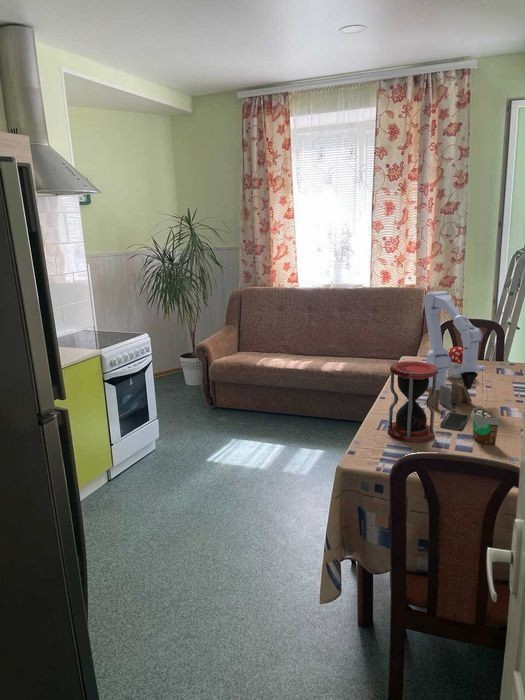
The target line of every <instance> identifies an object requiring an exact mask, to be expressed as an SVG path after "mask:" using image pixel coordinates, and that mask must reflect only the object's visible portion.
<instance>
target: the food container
mask: <svg viewBox="0 0 525 700" xmlns="http://www.w3.org/2000/svg"><path fill="white" fill-rule="evenodd" d="M470 417H471V419H472V438H473V440H474V442H476V443H479V444H482V445H487V446H489V445H490V446H495V445H496V440H497V435H498V429H499V426H500V418H498V417H496V418H495V417H494V416H493V415H492V414H491V413H489V412H487V411H485V410H484V409H483V406H479V407H474V408H473V410H472V411H471V413H470Z"/></svg>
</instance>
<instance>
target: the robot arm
mask: <svg viewBox="0 0 525 700" xmlns="http://www.w3.org/2000/svg"><path fill="white" fill-rule="evenodd" d="M452 298H453V296H452V295H451V294H450V293H449V291H447V290H443V291H432V292H431V291H430V292H429V291H428V292H427V293H426V294H425V295H424V297H423V299H422V300H423V306H424V314H425V318H426V326H427V332H428V340H429V346H430V350H429V351H428V352H427V353H426V354H425V355H426V360H425V363H429V364H432V365H434V366H436V367H437V368H438V374H437V377H436V388H437V389H439V393H440V385H446V386H447V375H448V374H447V371H448V369H449V367H450V366H451V358H450V356H449V352H448V349H445V348H444V342H443V337H442V335H443V334H442V330H441V328H442V327H441V323H440V316H439V313H440V312H441V311H442V310H444V311H445V312H446V313H447V315H448V316H449V317H451V319H452V320H453V322H452V325H453V326H454V327H455V328H456V330H457V331H458V333H460V339H461V342H462V348H463V360H462V367H459V368H456V369H453V374H455V375H457V374H460V375H461V376H462V378H461V379H462V381H463V385H465V386H466V387H467V390H468V391H469V390H471V388H472V387H473V384H474V381H475V380H476V379H477V377H478V375H479V374H478V372H485V371H486V366H485V365H481V364H480V365H478V360H479V359H478V358H479V357H478V356H479V345H480V342H482V340H483V337H484V335H483V332H482V330H481V328H479V327H476V326H474V324H472V323H471V322H470V320H469V318H468V316H466V315H464V314H461V313H460V311H459V310H458V309H457V307H456V306H455V304H454V303H453V301H452V300H453V299H452ZM432 385H433V377H429V385H428V388H427V391H429V386H432Z"/></svg>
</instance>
